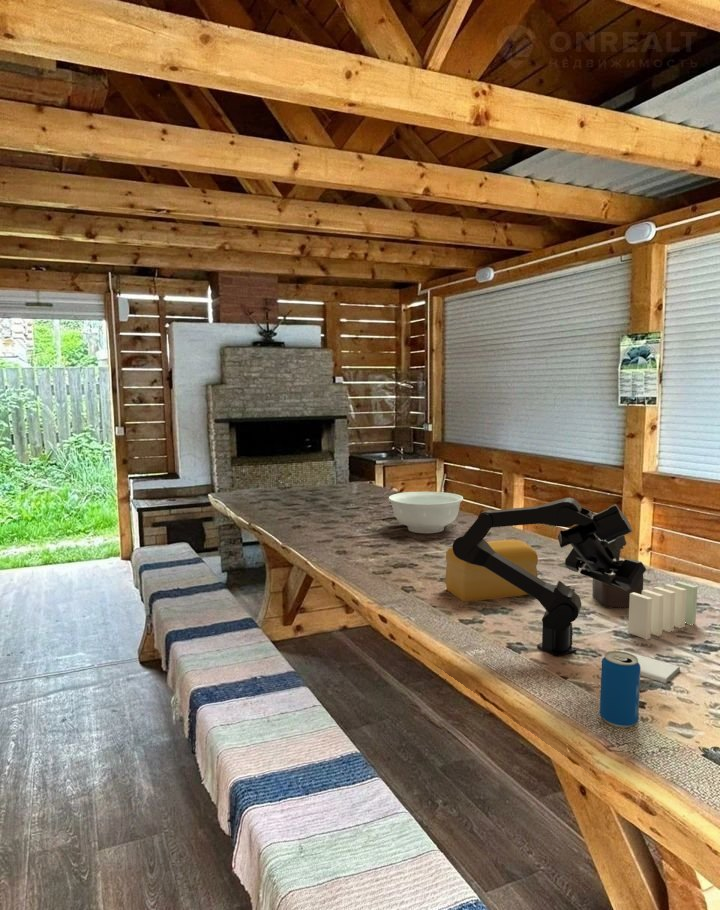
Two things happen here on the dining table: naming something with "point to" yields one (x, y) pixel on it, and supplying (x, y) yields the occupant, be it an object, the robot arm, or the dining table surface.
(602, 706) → the beverage can
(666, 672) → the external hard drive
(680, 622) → the domino
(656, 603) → the domino
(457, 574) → the bread
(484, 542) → the robot arm
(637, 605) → the domino
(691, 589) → the domino
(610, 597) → the dark brown boxy piece
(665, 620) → the domino
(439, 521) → the bowl
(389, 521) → the dining table surface
